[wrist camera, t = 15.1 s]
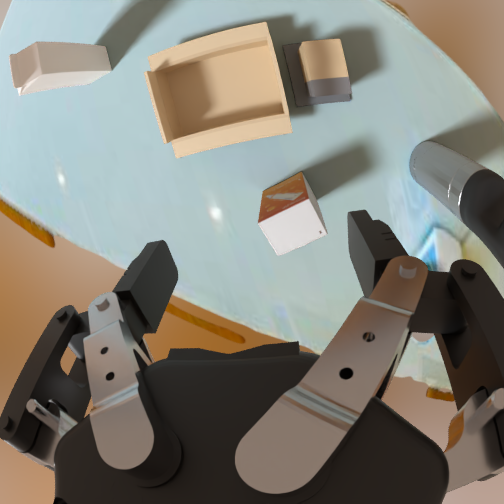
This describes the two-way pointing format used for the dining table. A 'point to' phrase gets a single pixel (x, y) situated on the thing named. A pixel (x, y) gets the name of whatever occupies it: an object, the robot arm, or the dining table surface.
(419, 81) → the dining table surface
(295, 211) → the small box
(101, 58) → the milk
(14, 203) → the dining table surface
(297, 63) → the slate mat
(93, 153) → the dining table surface
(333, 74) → the block
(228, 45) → the carton
